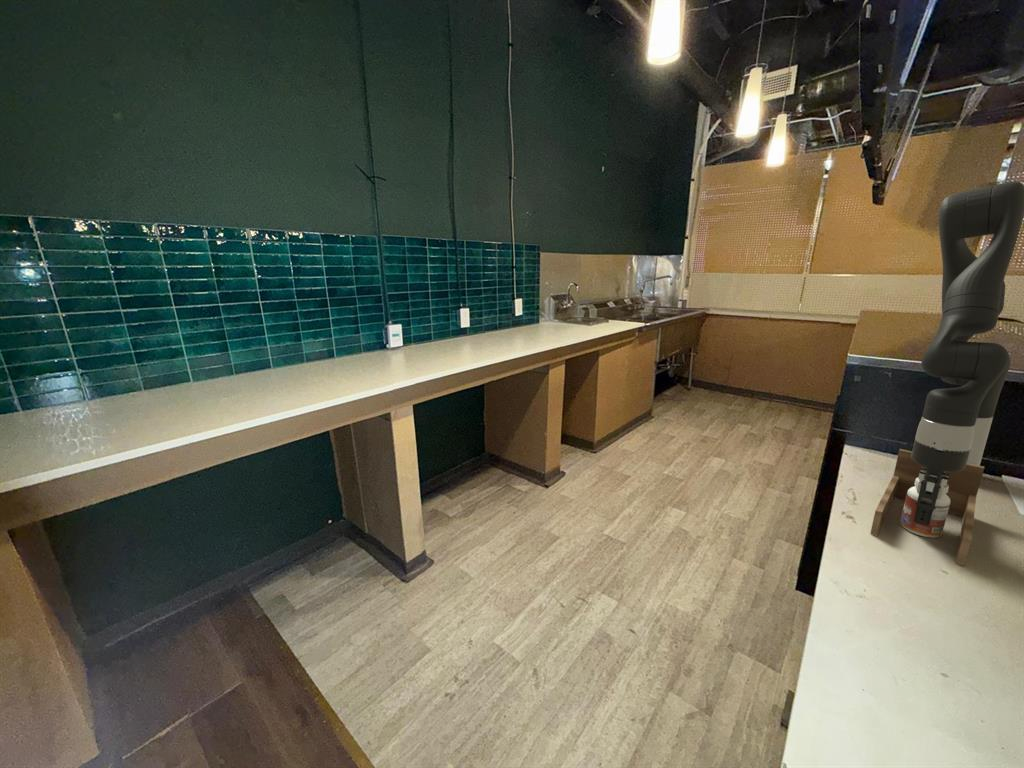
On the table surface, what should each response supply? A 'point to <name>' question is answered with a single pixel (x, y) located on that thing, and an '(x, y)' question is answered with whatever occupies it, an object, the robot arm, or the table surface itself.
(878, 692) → the table surface
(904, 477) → the open-sided box
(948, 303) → the robot arm
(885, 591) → the table surface
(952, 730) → the table surface
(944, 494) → the pill bottle
